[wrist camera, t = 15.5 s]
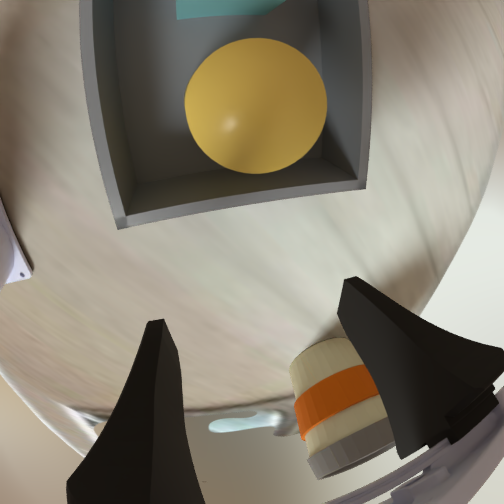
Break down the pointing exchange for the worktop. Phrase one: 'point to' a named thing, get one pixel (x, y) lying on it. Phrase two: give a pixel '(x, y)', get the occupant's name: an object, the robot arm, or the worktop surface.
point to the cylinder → (256, 105)
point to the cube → (223, 7)
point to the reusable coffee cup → (338, 408)
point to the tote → (173, 110)
